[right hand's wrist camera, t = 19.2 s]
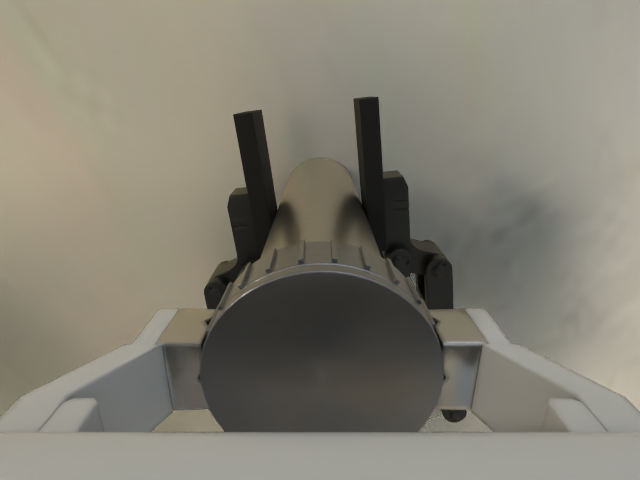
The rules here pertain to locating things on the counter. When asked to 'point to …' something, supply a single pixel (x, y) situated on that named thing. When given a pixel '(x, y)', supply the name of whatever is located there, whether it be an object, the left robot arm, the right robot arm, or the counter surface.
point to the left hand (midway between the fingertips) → (306, 106)
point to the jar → (320, 209)
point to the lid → (321, 345)
